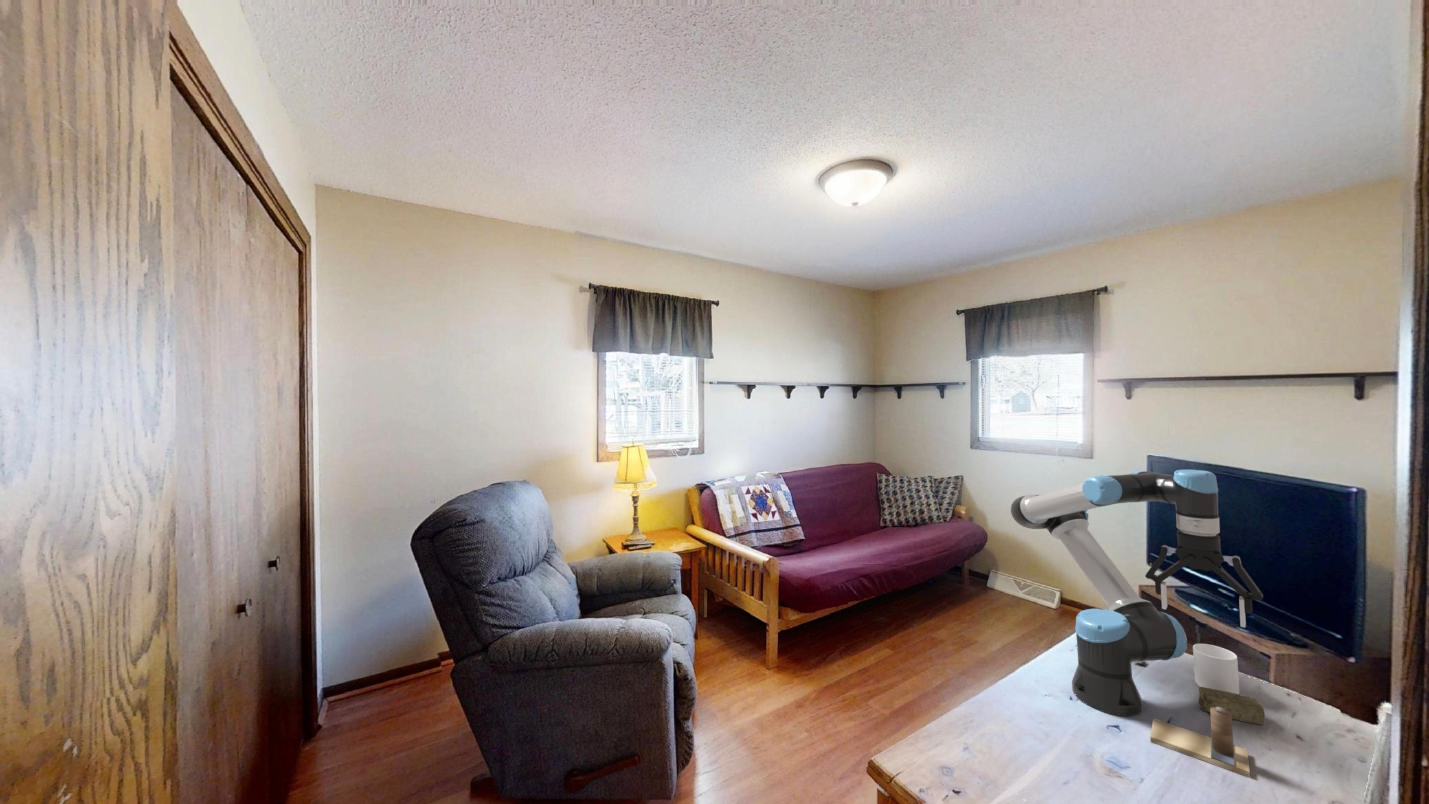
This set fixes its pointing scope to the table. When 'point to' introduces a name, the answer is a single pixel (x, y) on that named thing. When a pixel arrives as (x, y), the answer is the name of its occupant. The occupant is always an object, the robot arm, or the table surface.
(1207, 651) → the mug
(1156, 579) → the robot arm
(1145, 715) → the table surface
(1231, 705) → the stone block
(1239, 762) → the flat metallic slab
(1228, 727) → the brown wooden cylinder
